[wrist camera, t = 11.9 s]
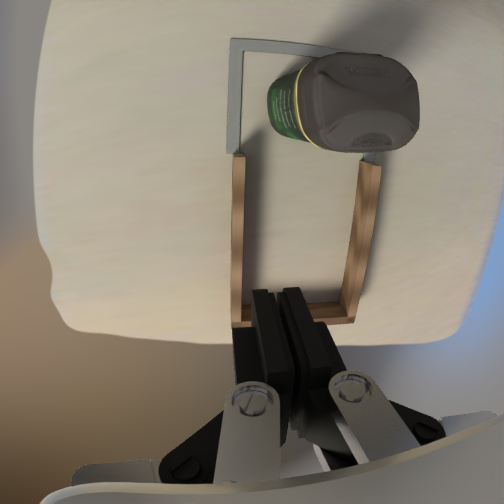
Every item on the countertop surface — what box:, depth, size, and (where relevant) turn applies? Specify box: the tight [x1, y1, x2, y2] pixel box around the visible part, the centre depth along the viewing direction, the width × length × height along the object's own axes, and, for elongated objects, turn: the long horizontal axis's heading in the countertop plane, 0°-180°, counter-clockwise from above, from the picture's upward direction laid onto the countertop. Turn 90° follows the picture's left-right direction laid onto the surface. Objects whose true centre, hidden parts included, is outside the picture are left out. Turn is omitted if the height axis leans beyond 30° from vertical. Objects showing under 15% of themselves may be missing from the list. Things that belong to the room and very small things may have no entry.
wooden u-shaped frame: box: [231, 153, 382, 328], centre depth 41 cm, size 22×17×4 cm
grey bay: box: [226, 39, 375, 162], centre depth 35 cm, size 14×19×1 cm
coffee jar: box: [267, 52, 420, 153], centre depth 27 cm, size 10×8×19 cm
